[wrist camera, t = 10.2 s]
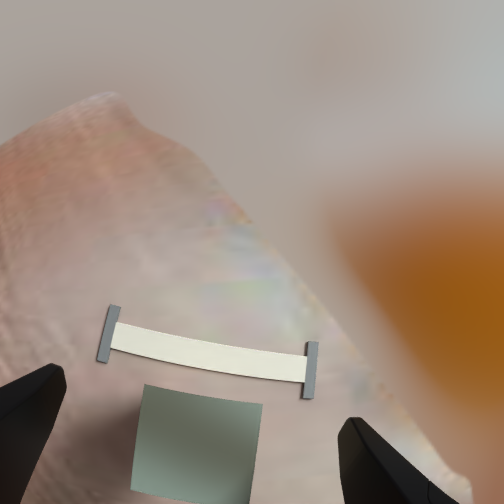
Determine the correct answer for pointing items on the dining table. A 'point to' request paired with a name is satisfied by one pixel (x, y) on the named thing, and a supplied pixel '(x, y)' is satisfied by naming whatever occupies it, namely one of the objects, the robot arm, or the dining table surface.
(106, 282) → the dining table surface
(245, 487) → the beige tall block
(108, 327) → the tape line
